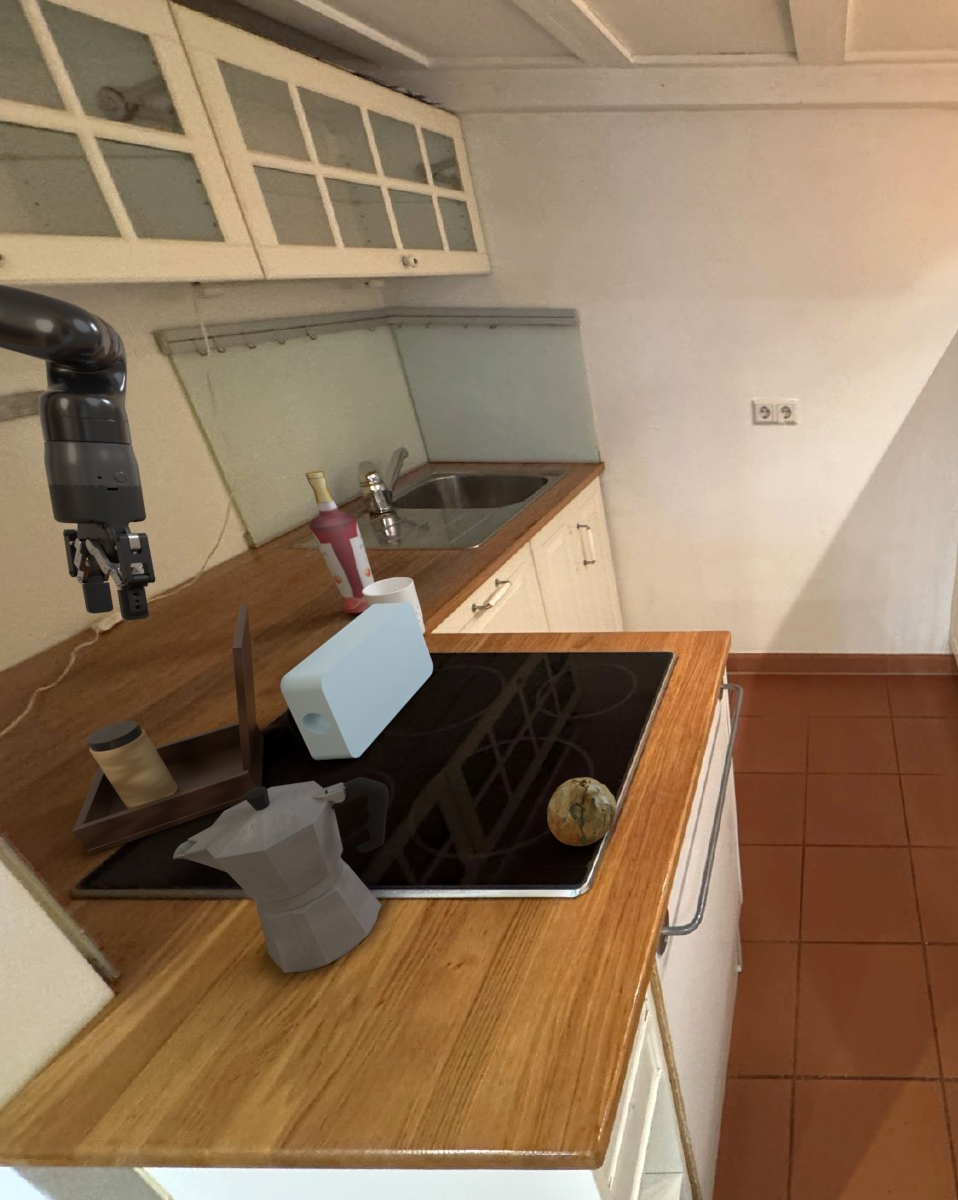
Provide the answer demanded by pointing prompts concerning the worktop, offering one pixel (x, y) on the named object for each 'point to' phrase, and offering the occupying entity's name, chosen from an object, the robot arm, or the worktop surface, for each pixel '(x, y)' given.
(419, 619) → the white cup
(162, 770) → the beige jar
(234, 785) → the chest
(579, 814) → the onion
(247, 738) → the chest lid
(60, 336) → the robot arm
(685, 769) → the worktop surface
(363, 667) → the pale blue rectangular block
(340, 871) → the coffeepot
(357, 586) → the liquor
